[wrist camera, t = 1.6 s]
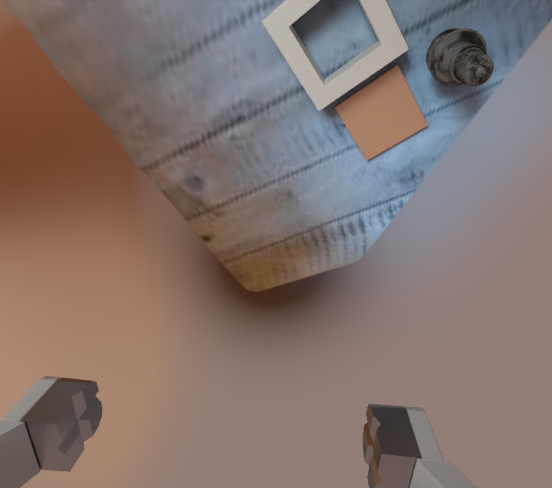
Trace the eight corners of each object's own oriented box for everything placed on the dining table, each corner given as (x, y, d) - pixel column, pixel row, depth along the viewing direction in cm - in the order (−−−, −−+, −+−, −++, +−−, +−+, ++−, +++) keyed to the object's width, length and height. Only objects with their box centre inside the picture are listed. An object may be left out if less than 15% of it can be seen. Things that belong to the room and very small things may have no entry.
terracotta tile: (397, 64, 44) (398, 65, 44) (426, 124, 48) (427, 125, 47) (334, 106, 48) (334, 107, 48) (366, 158, 52) (366, 160, 51)
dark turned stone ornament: (426, 86, 45) (453, 114, 36) (420, 37, 42) (447, 53, 33) (477, 69, 44) (519, 94, 34) (474, 16, 40) (520, 27, 31)
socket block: (354, -59, 38) (356, -63, 35) (403, 45, 43) (408, 49, 40) (266, 19, 43) (261, 21, 40) (319, 103, 48) (318, 111, 45)
